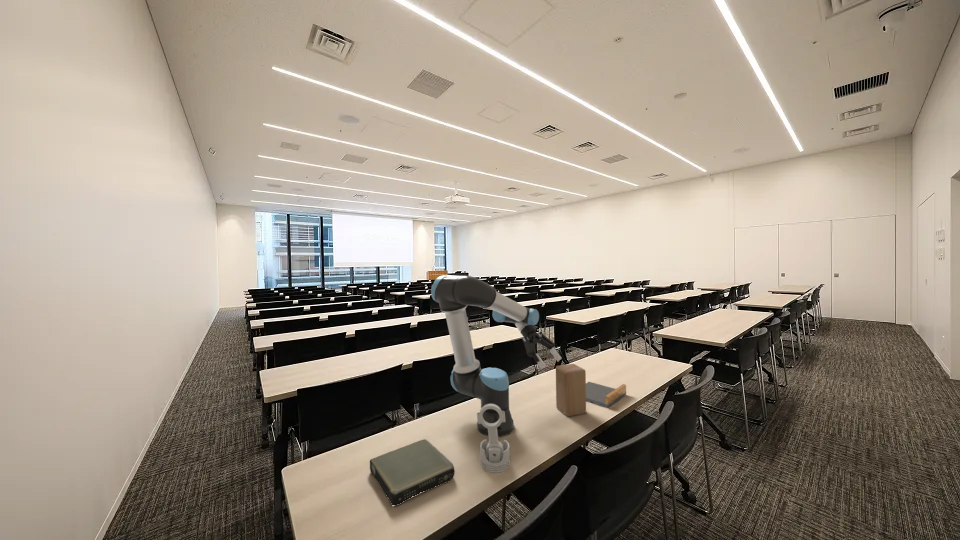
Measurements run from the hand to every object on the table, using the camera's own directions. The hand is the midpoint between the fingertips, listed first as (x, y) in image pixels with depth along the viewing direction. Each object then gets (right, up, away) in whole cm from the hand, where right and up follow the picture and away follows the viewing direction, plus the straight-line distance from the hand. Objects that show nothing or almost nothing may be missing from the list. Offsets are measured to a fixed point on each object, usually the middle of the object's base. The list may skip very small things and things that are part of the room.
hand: (551, 363), depth 159 cm
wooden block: (+7, -20, -7) cm, 22 cm away
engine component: (-29, -22, -44) cm, 57 cm away
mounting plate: (+25, -18, +9) cm, 32 cm away
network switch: (-56, -24, -49) cm, 78 cm away
